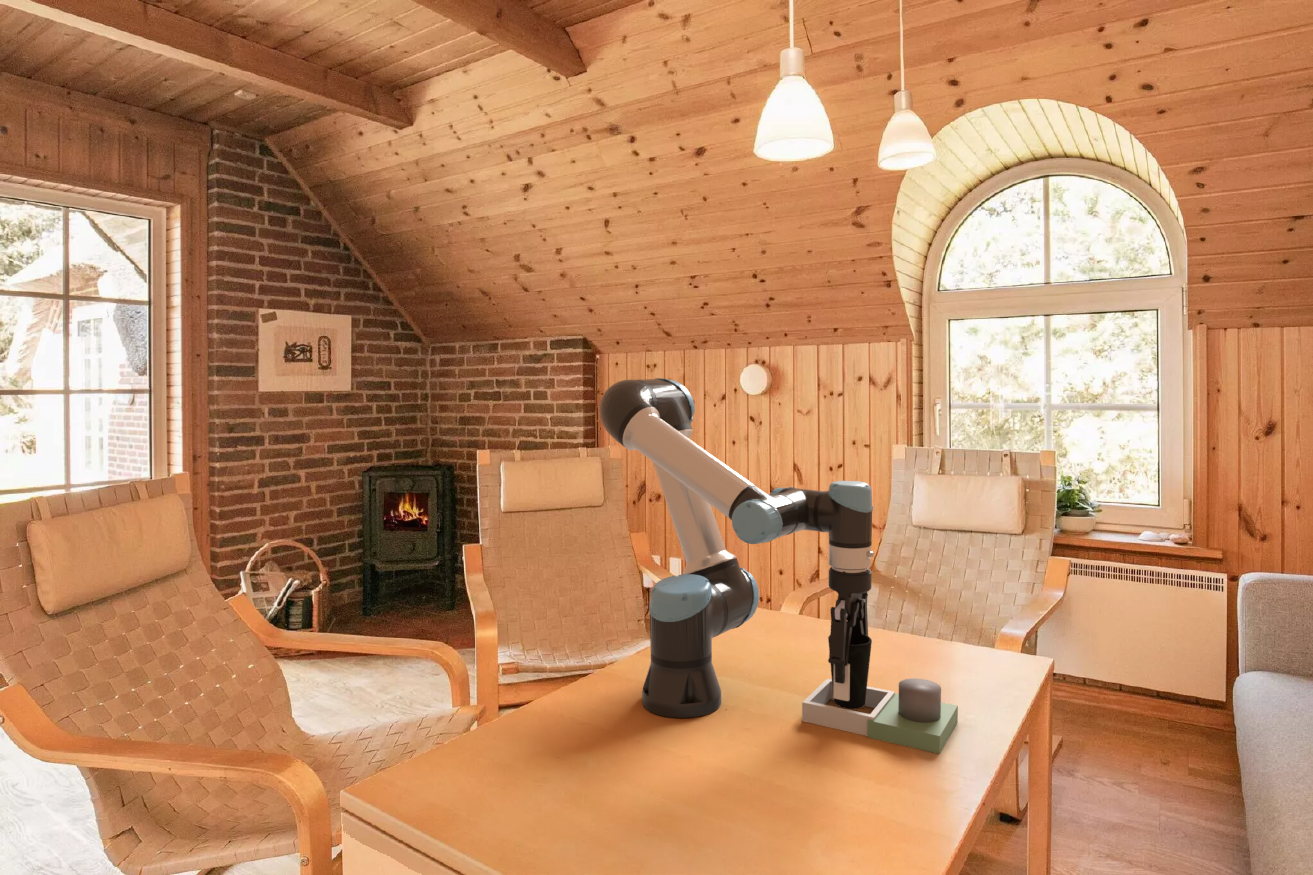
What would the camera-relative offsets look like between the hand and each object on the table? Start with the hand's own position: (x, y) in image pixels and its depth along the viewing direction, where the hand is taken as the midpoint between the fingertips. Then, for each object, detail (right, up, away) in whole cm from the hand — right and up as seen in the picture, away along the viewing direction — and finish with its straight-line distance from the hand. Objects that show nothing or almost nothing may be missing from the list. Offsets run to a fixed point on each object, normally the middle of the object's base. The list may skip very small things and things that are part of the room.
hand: (849, 690), depth 147 cm
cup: (0, -2, 0) cm, 2 cm away
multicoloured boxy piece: (+5, -5, -3) cm, 7 cm away
